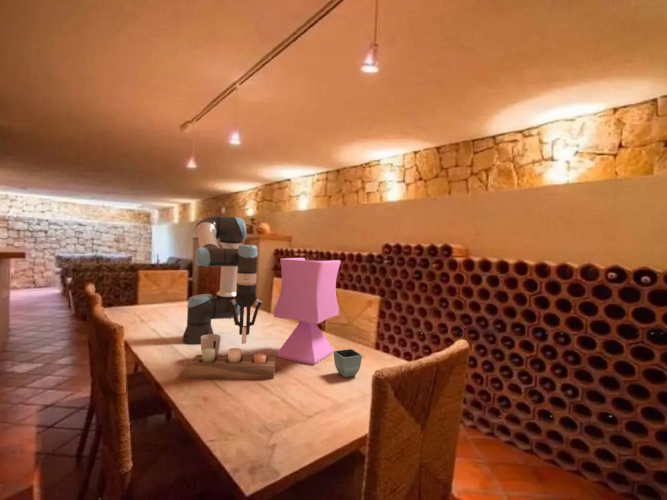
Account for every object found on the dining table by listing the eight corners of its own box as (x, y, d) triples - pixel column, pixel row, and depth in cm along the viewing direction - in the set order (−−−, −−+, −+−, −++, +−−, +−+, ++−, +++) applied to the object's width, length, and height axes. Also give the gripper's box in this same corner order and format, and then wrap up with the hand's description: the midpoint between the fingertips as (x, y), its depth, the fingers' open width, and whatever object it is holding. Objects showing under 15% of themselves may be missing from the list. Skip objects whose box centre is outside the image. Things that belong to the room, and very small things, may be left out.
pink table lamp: (337, 352, 164) (341, 260, 163) (315, 366, 144) (320, 261, 143) (297, 345, 174) (301, 257, 173) (272, 357, 153) (276, 258, 153)
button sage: (203, 360, 135) (204, 347, 135) (215, 360, 135) (216, 347, 135) (200, 364, 130) (200, 351, 130) (212, 364, 130) (213, 351, 130)
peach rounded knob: (229, 360, 136) (229, 348, 136) (241, 360, 136) (241, 348, 136) (226, 364, 131) (227, 351, 131) (239, 364, 132) (239, 351, 131)
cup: (213, 363, 142) (214, 340, 142) (195, 361, 144) (196, 338, 144) (223, 357, 150) (224, 335, 150) (206, 355, 152) (207, 333, 152)
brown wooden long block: (196, 366, 138) (197, 354, 138) (275, 367, 141) (276, 355, 141) (186, 378, 126) (187, 365, 126) (273, 378, 129) (274, 365, 129)
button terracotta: (254, 365, 137) (254, 353, 137) (266, 365, 137) (266, 353, 137) (252, 370, 132) (253, 357, 132) (265, 370, 133) (265, 357, 133)
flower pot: (342, 380, 131) (343, 357, 130) (332, 372, 138) (333, 350, 138) (361, 377, 135) (362, 355, 134) (350, 369, 142) (351, 348, 142)
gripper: (227, 284, 129) (225, 345, 130) (262, 285, 131) (259, 345, 132) (231, 282, 137) (228, 339, 137) (263, 283, 138) (261, 340, 139)
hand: (243, 342), depth 134 cm, fingers closed
